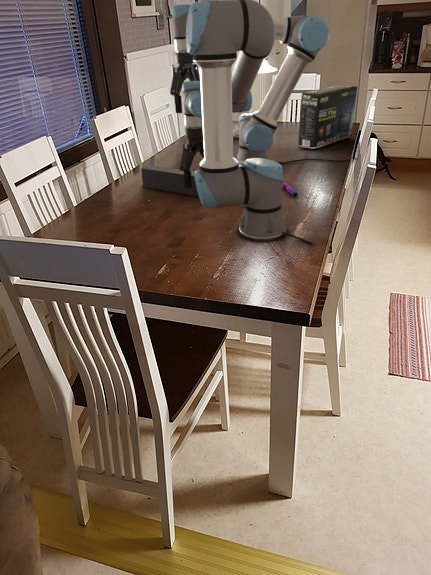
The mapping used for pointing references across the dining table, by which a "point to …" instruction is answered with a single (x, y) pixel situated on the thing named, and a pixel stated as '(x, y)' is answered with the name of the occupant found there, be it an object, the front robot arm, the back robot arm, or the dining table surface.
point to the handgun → (289, 189)
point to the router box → (326, 115)
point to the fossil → (235, 130)
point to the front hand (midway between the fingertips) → (197, 182)
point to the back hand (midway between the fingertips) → (188, 110)
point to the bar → (167, 179)
